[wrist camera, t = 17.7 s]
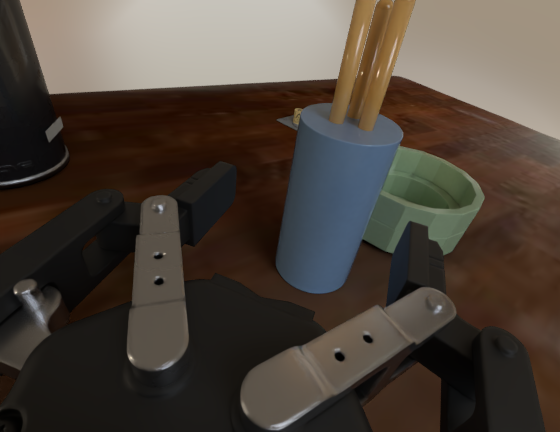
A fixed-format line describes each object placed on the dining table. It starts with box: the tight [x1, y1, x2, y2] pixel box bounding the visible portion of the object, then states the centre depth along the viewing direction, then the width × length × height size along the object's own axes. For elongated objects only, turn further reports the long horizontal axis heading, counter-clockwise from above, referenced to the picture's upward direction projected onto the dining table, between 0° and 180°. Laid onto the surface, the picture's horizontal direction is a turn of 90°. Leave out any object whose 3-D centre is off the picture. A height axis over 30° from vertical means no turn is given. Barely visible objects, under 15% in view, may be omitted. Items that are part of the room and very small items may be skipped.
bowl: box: [363, 146, 485, 255], centre depth 30 cm, size 11×11×6 cm
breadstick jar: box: [275, 0, 416, 294], centre depth 20 cm, size 6×6×19 cm
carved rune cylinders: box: [277, 108, 303, 130], centre depth 49 cm, size 5×5×2 cm
